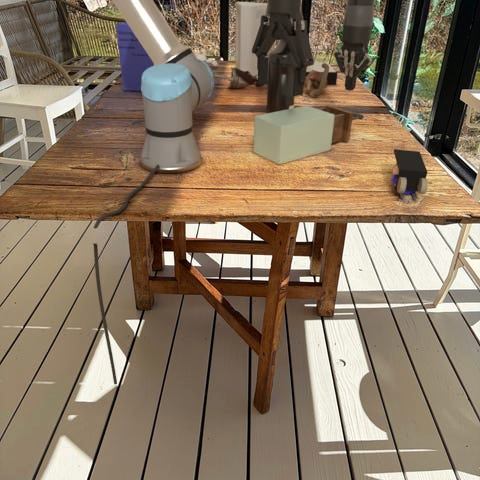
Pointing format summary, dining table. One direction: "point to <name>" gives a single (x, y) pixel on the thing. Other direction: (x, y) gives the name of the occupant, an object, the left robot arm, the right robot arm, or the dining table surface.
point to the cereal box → (131, 58)
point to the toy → (205, 59)
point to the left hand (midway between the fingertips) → (279, 89)
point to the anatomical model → (316, 81)
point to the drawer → (341, 122)
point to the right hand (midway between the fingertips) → (349, 89)
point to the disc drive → (318, 67)
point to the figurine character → (409, 173)
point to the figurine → (240, 79)
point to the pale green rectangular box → (293, 133)
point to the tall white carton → (247, 34)
